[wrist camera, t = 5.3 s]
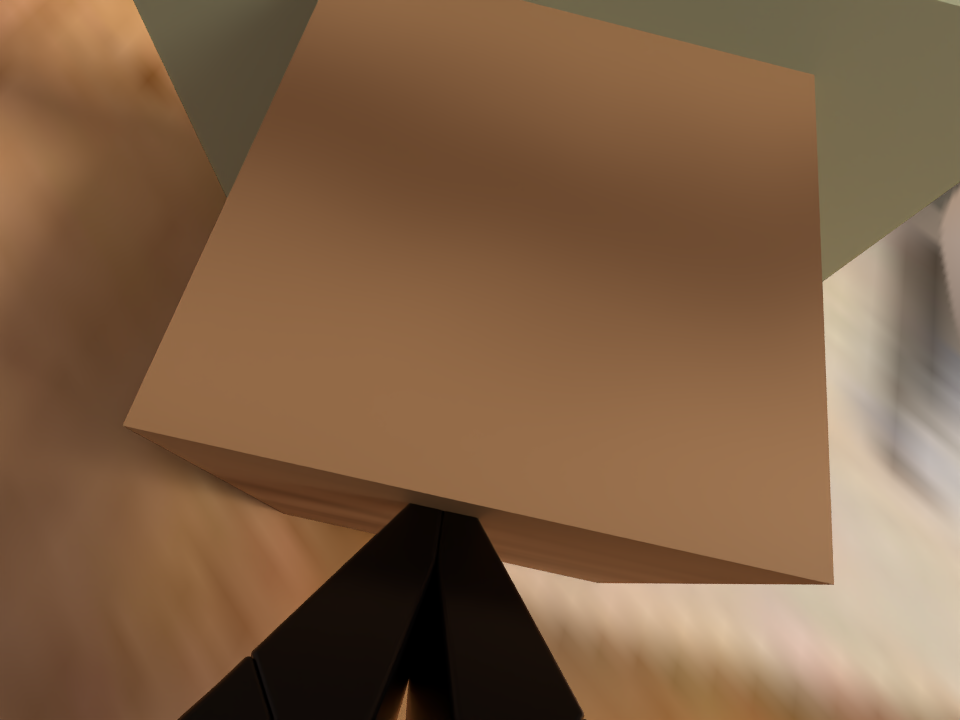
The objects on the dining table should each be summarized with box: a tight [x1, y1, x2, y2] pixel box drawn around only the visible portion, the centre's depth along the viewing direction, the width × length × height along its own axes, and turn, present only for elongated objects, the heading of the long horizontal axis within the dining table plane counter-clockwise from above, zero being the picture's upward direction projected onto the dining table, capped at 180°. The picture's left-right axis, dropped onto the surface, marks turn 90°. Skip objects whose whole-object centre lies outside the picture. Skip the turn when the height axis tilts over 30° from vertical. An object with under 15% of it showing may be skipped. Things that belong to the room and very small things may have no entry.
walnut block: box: [122, 0, 834, 585], centre depth 12 cm, size 8×8×8 cm
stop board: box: [133, 0, 960, 282], centre depth 13 cm, size 2×16×10 cm, turn 78°
